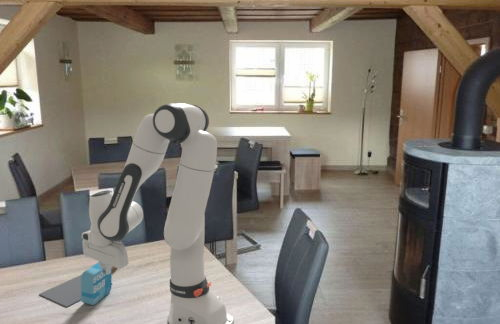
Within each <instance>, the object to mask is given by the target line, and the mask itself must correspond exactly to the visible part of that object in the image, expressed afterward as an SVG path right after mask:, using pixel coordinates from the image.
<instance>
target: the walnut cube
mask: <svg viewBox="0 0 500 324" xmlns="http://www.w3.org/2000/svg"><path fill="white" fill-rule="evenodd" d="M118 270H119V269H118V268H116V267H113V266H112V275H113V274H114V273H115V272H116V271H118Z"/></svg>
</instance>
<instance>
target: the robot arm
mask: <svg viewBox="0 0 500 324" xmlns="http://www.w3.org/2000/svg"><path fill="white" fill-rule="evenodd" d="M209 124H210V119H209V115H208V113H207V112H206V110H205V109H204V108H203V107H201V106H199V105H196V104H188V103H184V102H177V103H173V102H172V103H171V102H169V103H165V104H163V105H160V106H159V107H158V108H157V109H156V110H155V111H154V113H149V114H147V115H144V117H143V119H142V120H141V122H140V124H139V126H138V128H137V130H136V132H135V135H134V138H133V140H132V142H131V148H130V150H129V152H128V156H127V159H126V161H125V164H124V167H123V169H122V172H121V174H120V176H119V179H118V181H117V183H116V186H115V189H114V191H113V190H102V191H98V192H96V193H94V194H92V195H91V196H90V198H89V202H88V203H89V204H88V214H89V220H90V228H89V230H87V231H85V232H82V233H81V239H82V252H83V255H84V257H86V258H89V259H92V260H95V261H97V262H99V265H100V267H101V270H102V273H104V274H107V275H108V274H110V273H111V268H112V266H113V267H116V268H118V269H117V270H120V269H124V268H125V267H127V266H129V256H128V250H127V247H126V245H124V243H123V241H122V239H124V238H125V237H126V236H127V235H128V234H129V233H130V232H131V231H133V230H134V229H135V228H136V227H137V226H138V225H140V224H141V223H142V221H143V220H144V215H145V214H144V210H143V207H142V205H141V204H139V202H137V201H134V199H135V196H136V194H137V192H138V190H139V189H140V187H141V186H142V185H143V184H144V183H145V181H146V180H148V179H149V178H150V177H151V176H152V175H153V174H155V173H156V172H157V171H158V170H159V168H160V167H161V165H162V163H163V161H164V158H165V156H166V152H167V150H168V147H169V144H170V142H171V143H173V144H174V145H179V144H180V146H181V156H180V160H179V163H178V165H179V166H178V171H177V175H176V180H175V185H174V189H173V192H172V196H171V199H170V203H169V208H168V210H167V215H166V219H165V224H164V229H163V236H164V241H165V243H166V244H167V245H168V246H169V247H170V255H169V269H170V279H169V291H170V294H171V295H170V296H171V297H170V307H169V314H168V317H167V321H168V324H234V321H235V319H234V316H232V315H231V314H229V313H227V308H226V306H225V303H224V302H223V301H222V300H221V298H220V297H219V296H217V295H216V294H215V293H214V292H213V291H212V290H211V289H210V287H211V286H212V281H210V282H208V280H207V278H206V277H207V276H206V275H205V255H204V254H205V236H206V235H205V233H206V232H205V230H206V229H205V226H206V225H205V224H206V223H205V219H206V217H205V213H206V208H207V204H208V200H209V196H210V192H211V187H212V183H213V178H214V174H215V168H216V164H217V155H218V154H217V153H218V141H217V140H218V139H217V138H216V137H215V135H213V134H212V133H210V132H208V131H207V129H208V128H209Z"/></svg>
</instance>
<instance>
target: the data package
mask: <svg viewBox="0 0 500 324" xmlns="http://www.w3.org/2000/svg"><path fill="white" fill-rule="evenodd" d="M81 275H82V276H81V303H82V304H88V305H91V306H94V305H96V304H97V303H98V302H99V301H101V300H102V299H103V298H104V297H106V296H107V295H108V294H109V293H110V292H111V290H112V285H111V283H112V275H113V274H112V268H111V273H110V274H108V275H107V274H104V273H102V270H101V267H100V265H99V261H97V263H95V264H94V265H92V266H91V267H89V268H87V269H85V271H83V272H82V273H81Z"/></svg>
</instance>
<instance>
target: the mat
mask: <svg viewBox="0 0 500 324" xmlns="http://www.w3.org/2000/svg"><path fill="white" fill-rule="evenodd" d="M81 276H82V274H80V275H77V276H76V277H73V278H71V279H69V280H67V281H65V282H63V283H62V282H61V284H58V285H56V286H54V287H52V288H49V289H47V290H44V291H42V292H41V293H39V294H38V295H39V296H41V297H43V298H45V299H48V300H50V301H52V302H54V303H56V304H58V305H60V306H63V307H65V308H69V307H71V306H72V305H74V304H77V303H78V302H80V301H81ZM112 285H113V283H112V282H111V286H112ZM81 302H82V301H81Z"/></svg>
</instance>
